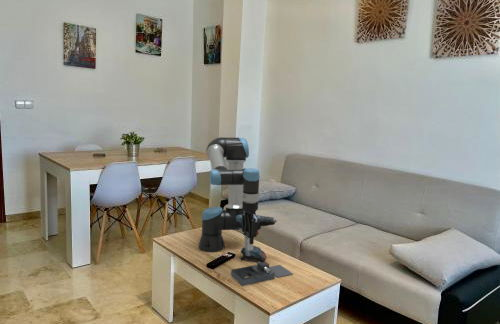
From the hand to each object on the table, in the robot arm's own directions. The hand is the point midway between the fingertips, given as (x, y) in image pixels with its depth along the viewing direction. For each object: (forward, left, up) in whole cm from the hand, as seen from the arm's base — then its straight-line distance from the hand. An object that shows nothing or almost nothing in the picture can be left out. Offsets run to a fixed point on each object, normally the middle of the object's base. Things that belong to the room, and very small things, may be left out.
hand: (248, 248), depth 185 cm
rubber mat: (0, +19, -15) cm, 24 cm away
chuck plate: (0, +3, -15) cm, 16 cm away
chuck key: (0, 0, -3) cm, 3 cm away
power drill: (-19, +15, -16) cm, 29 cm away
